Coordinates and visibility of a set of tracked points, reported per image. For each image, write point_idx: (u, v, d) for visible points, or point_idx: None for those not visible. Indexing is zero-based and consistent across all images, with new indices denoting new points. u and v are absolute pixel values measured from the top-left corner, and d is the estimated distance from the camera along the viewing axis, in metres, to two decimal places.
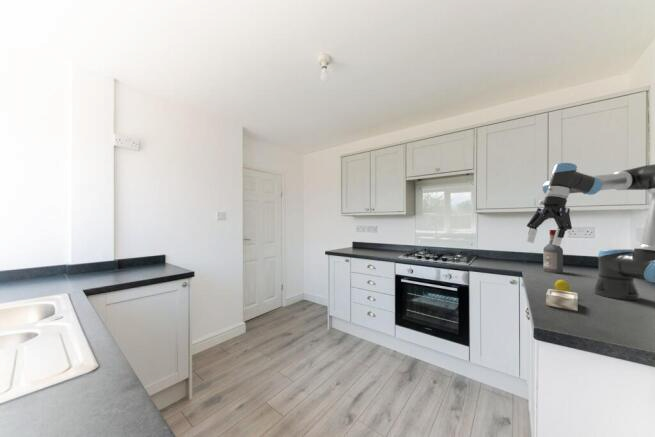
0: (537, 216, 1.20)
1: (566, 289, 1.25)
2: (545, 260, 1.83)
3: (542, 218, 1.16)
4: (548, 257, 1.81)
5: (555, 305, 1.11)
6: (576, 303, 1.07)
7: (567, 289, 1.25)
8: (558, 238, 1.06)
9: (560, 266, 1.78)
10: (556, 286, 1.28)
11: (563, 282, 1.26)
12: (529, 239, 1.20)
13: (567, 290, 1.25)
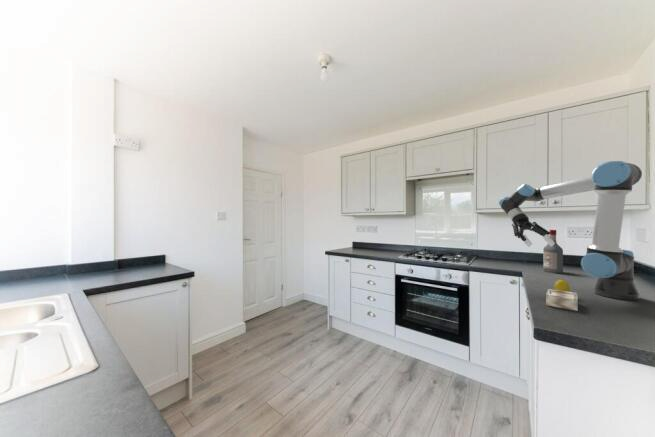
0: None
1: (566, 289, 1.25)
2: (545, 260, 1.83)
3: (533, 229, 1.47)
4: (548, 257, 1.81)
5: (555, 305, 1.11)
6: (576, 303, 1.07)
7: (567, 289, 1.25)
8: (526, 241, 1.39)
9: (560, 266, 1.78)
10: (556, 286, 1.28)
11: (563, 282, 1.26)
12: (549, 244, 1.40)
13: (567, 290, 1.25)
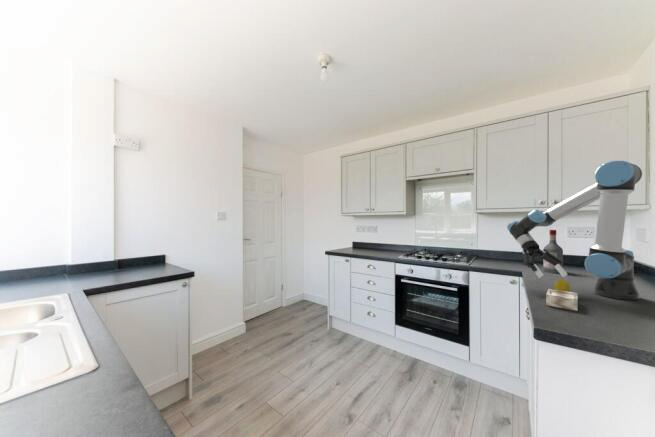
0: None
1: (566, 289, 1.25)
2: (545, 260, 1.83)
3: (543, 258, 1.40)
4: None
5: (555, 305, 1.11)
6: (576, 303, 1.07)
7: (567, 289, 1.25)
8: (537, 271, 1.33)
9: None
10: (556, 286, 1.28)
11: (563, 282, 1.26)
12: (562, 274, 1.33)
13: (567, 290, 1.25)
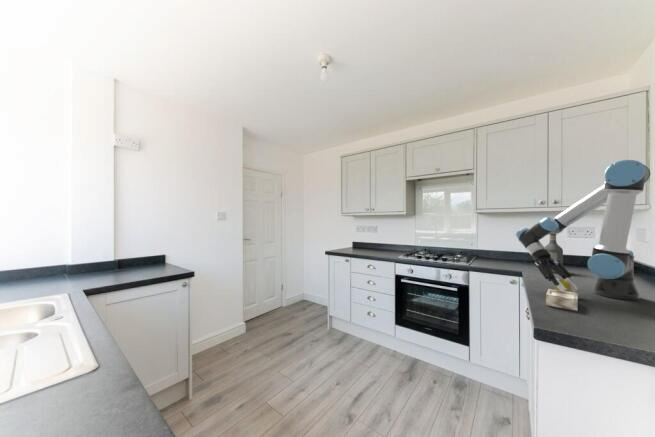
0: None
1: None
2: None
3: (553, 268, 1.33)
4: None
5: (555, 305, 1.11)
6: (576, 303, 1.07)
7: (567, 289, 1.25)
8: (559, 285, 1.25)
9: None
10: (556, 286, 1.27)
11: (563, 282, 1.26)
12: (571, 289, 1.25)
13: (567, 290, 1.25)
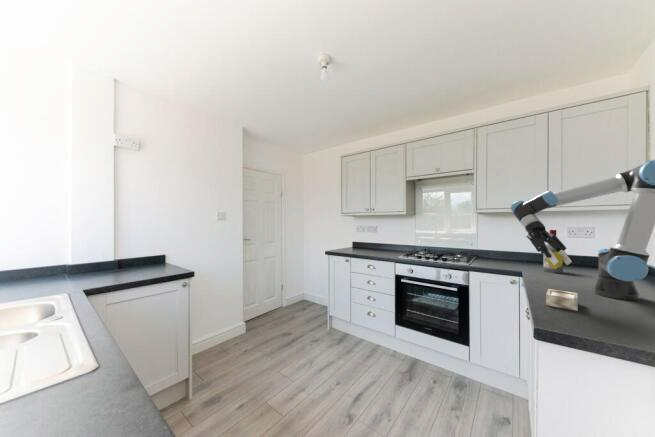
0: None
1: (559, 261, 1.17)
2: (545, 260, 1.83)
3: (547, 241, 1.26)
4: None
5: (555, 305, 1.11)
6: (576, 303, 1.07)
7: (560, 261, 1.17)
8: (551, 258, 1.18)
9: (560, 266, 1.78)
10: (548, 259, 1.20)
11: (556, 254, 1.18)
12: (565, 262, 1.18)
13: (560, 262, 1.17)
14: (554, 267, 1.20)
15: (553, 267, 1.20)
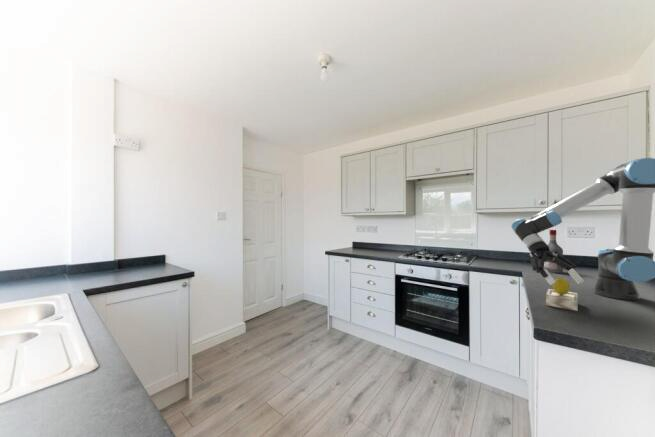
0: None
1: (566, 288, 1.12)
2: None
3: (554, 261, 1.21)
4: None
5: (555, 305, 1.11)
6: (576, 303, 1.07)
7: (567, 288, 1.12)
8: (547, 277, 1.13)
9: (560, 266, 1.78)
10: (555, 285, 1.14)
11: (562, 280, 1.13)
12: (577, 281, 1.14)
13: (567, 289, 1.12)
14: (561, 294, 1.14)
15: (560, 294, 1.14)
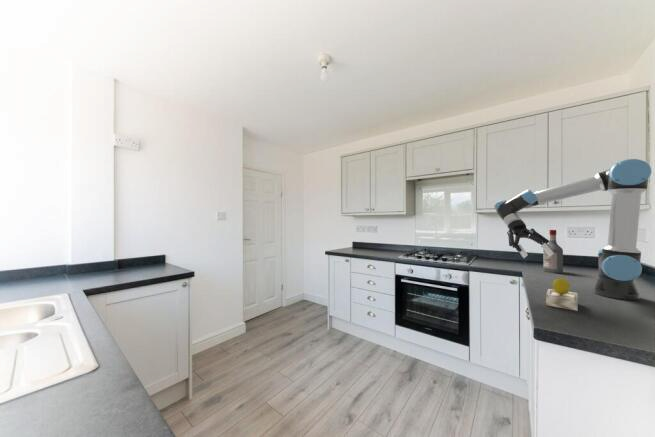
0: None
1: (566, 288, 1.12)
2: (545, 260, 1.83)
3: (530, 237, 1.34)
4: (548, 257, 1.81)
5: (555, 305, 1.11)
6: (576, 303, 1.07)
7: (567, 288, 1.12)
8: (521, 251, 1.28)
9: (560, 266, 1.78)
10: (554, 285, 1.14)
11: (562, 280, 1.13)
12: (548, 254, 1.28)
13: (567, 289, 1.12)
14: (561, 294, 1.14)
15: (560, 294, 1.14)
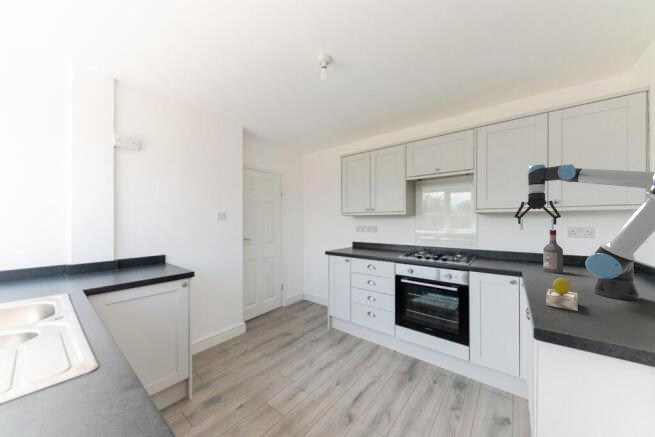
0: None
1: (566, 288, 1.12)
2: (545, 260, 1.83)
3: (544, 209, 1.42)
4: (548, 257, 1.81)
5: (555, 305, 1.11)
6: (576, 303, 1.07)
7: (567, 288, 1.12)
8: None
9: (560, 266, 1.78)
10: (555, 285, 1.14)
11: (562, 281, 1.13)
12: None
13: (567, 289, 1.12)
14: (561, 294, 1.14)
15: (560, 294, 1.14)
